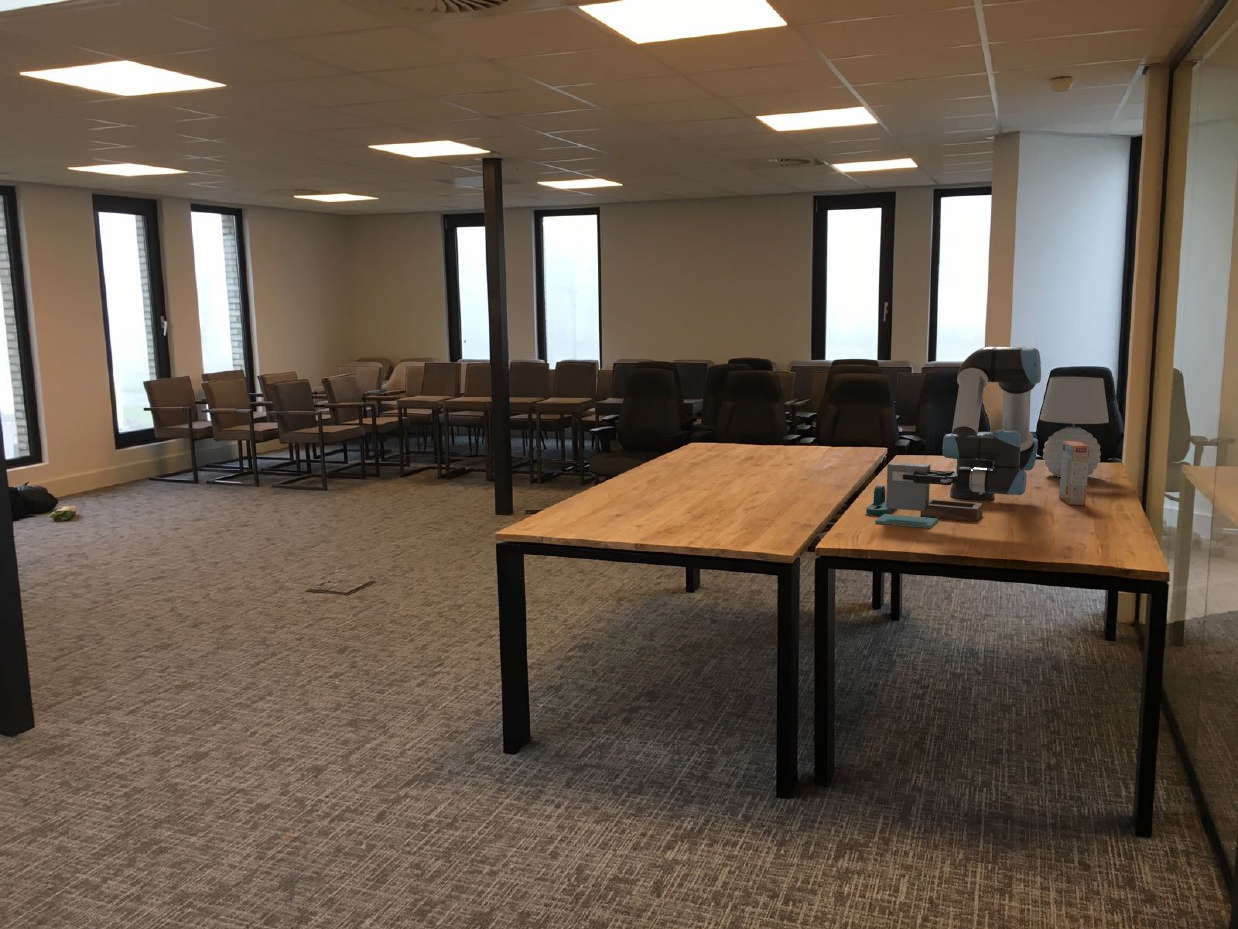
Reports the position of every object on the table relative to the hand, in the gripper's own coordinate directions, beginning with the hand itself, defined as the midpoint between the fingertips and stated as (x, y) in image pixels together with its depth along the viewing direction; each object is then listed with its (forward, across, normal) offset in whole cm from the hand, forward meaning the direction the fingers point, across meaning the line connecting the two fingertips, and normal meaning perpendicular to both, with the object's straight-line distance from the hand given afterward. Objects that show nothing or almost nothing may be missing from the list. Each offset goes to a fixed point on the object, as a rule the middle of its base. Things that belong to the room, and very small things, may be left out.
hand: (895, 474), depth 315 cm
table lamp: (-43, +121, -15) cm, 129 cm away
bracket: (+8, +15, -16) cm, 23 cm away
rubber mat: (-4, 0, -15) cm, 16 cm away
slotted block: (-15, +18, -15) cm, 28 cm away
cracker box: (-48, +63, -15) cm, 80 cm away
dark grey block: (-4, 0, -10) cm, 11 cm away
